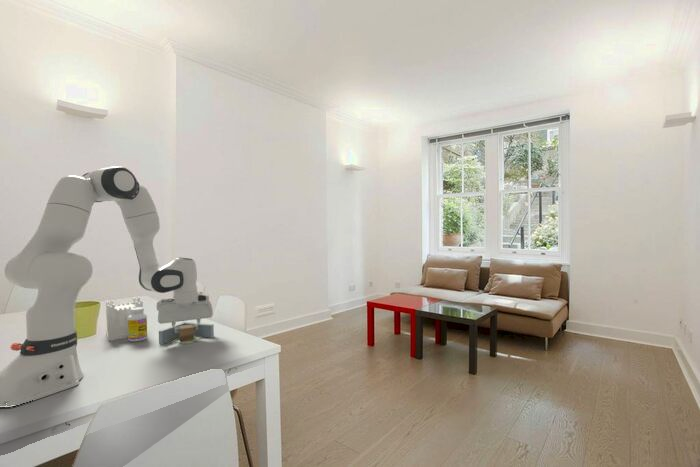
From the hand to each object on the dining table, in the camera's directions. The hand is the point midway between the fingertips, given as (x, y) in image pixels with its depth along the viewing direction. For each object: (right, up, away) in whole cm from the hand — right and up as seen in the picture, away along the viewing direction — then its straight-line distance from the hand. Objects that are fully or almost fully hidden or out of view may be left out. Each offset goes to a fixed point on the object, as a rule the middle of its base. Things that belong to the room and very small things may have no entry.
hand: (186, 331), depth 145 cm
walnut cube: (0, -3, 0) cm, 3 cm away
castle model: (-31, -4, +10) cm, 33 cm away
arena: (0, -4, +1) cm, 4 cm away
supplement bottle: (-21, -4, +1) cm, 21 cm away
